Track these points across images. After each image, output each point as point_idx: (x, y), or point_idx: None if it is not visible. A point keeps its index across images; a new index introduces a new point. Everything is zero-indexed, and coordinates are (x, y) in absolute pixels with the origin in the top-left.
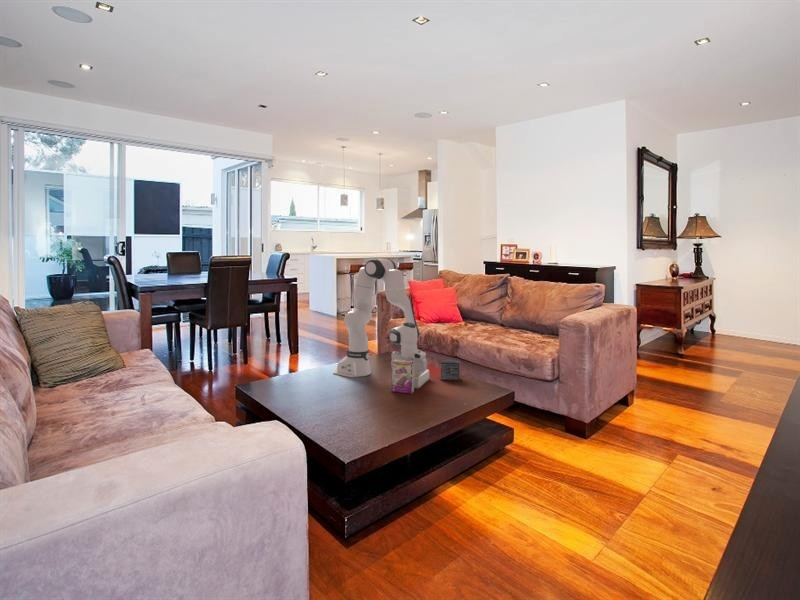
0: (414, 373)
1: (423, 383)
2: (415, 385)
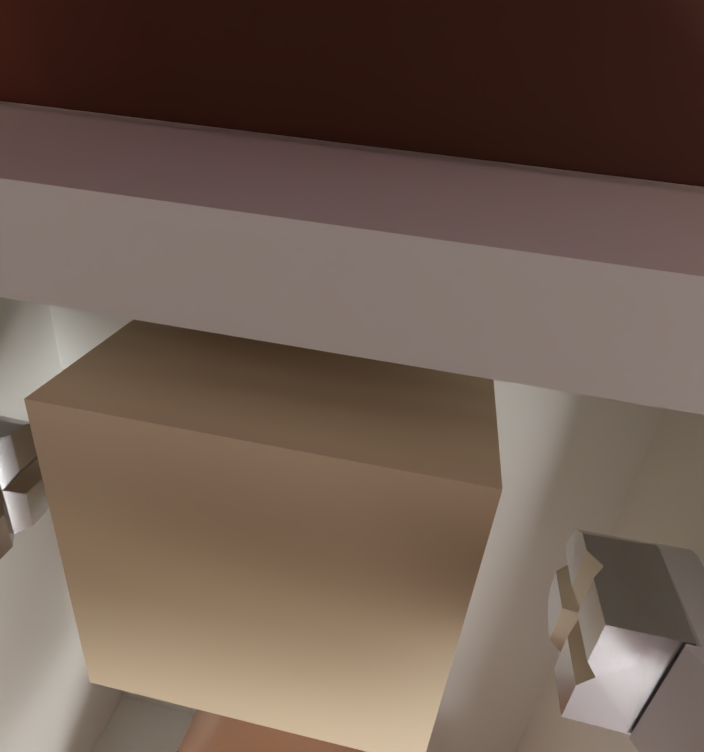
0: (100, 684)
1: None
2: (7, 112)
